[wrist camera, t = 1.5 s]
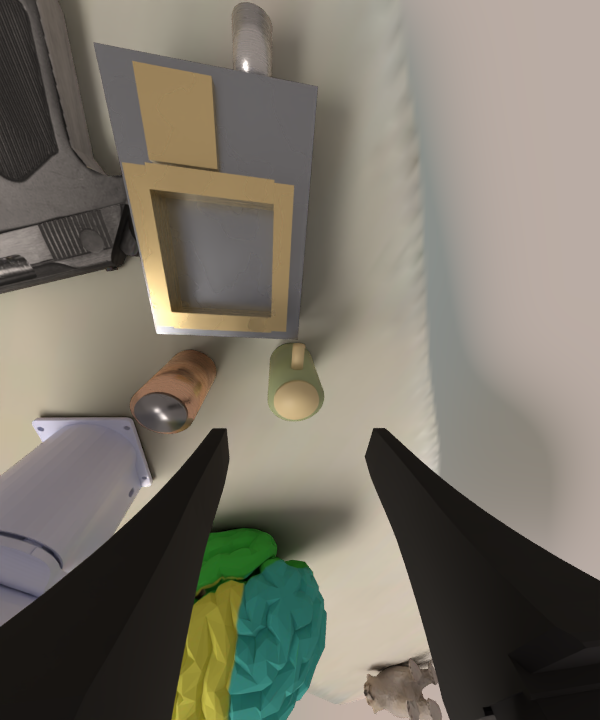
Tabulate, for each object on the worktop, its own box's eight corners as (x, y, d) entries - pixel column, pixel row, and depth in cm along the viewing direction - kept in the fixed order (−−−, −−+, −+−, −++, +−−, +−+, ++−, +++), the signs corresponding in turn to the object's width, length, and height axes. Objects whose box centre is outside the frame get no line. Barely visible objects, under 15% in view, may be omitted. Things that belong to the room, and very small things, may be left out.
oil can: (309, 380, 20) (321, 424, 15) (269, 380, 20) (267, 424, 14) (315, 326, 18) (332, 354, 13) (270, 324, 17) (268, 352, 12)
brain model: (305, 498, 27) (321, 731, 14) (326, 564, 36) (348, 748, 22) (134, 528, 28) (-3, 770, 15) (193, 585, 37) (139, 772, 23)
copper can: (218, 388, 20) (196, 436, 14) (174, 388, 19) (135, 437, 14) (214, 350, 18) (188, 389, 13) (166, 349, 17) (118, 388, 12)
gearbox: (293, 325, 18) (299, 347, 13) (179, 319, 17) (143, 341, 12) (311, 69, 12) (334, -51, 7) (132, 32, 10) (23, -139, 6)
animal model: (434, 774, 54) (379, 777, 59) (450, 697, 73) (407, 705, 78) (398, 680, 64) (354, 690, 69) (421, 633, 82) (384, 644, 88)
